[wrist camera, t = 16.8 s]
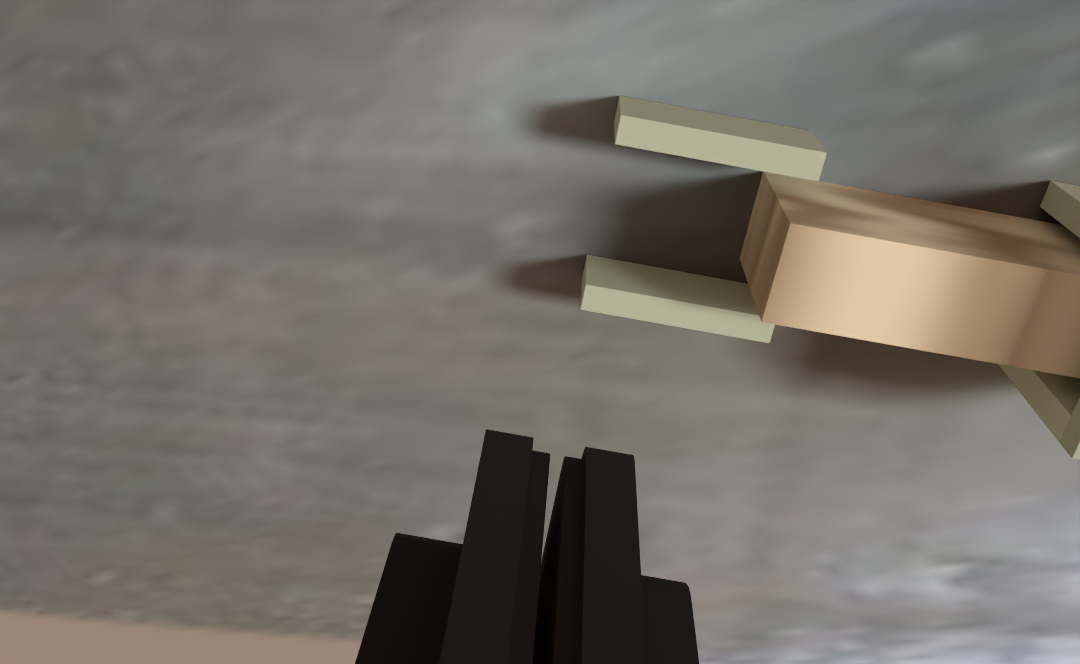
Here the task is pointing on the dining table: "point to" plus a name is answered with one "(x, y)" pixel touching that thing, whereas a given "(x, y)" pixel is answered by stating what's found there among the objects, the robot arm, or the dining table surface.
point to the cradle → (680, 292)
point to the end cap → (1060, 401)
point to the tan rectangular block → (915, 274)
